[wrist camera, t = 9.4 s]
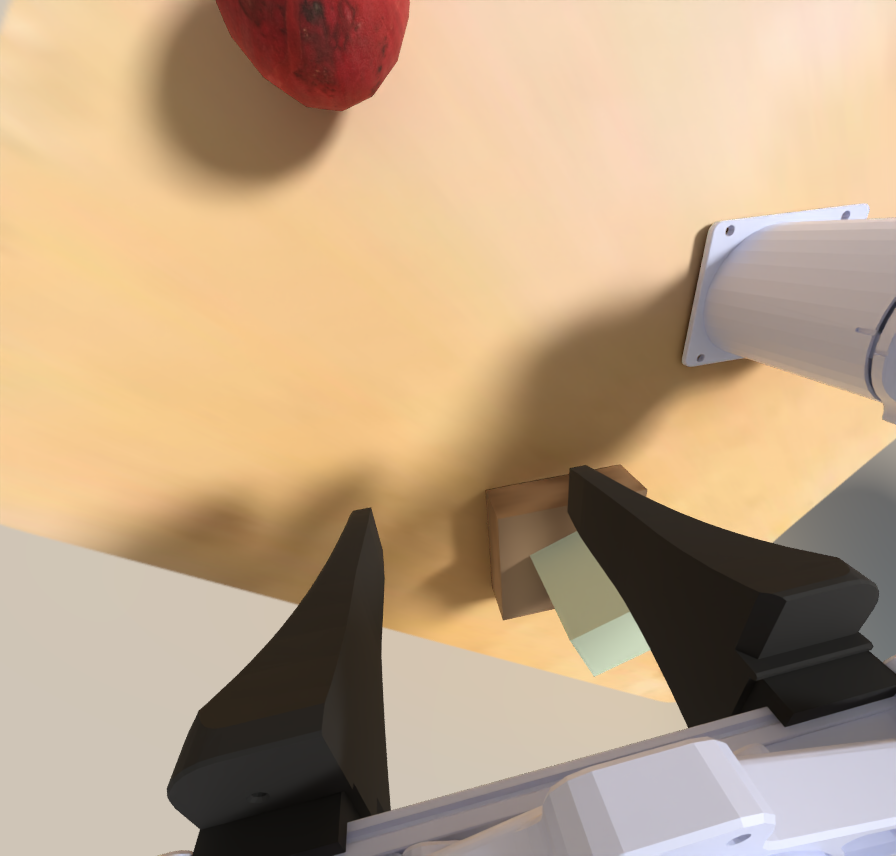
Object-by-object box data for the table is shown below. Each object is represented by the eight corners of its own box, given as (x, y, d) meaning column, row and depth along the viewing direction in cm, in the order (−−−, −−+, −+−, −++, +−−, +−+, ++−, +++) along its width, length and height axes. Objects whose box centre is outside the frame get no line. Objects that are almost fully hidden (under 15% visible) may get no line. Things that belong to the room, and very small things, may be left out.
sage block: (589, 524, 24) (647, 602, 19) (607, 563, 27) (664, 643, 21) (529, 555, 25) (570, 640, 20) (552, 591, 27) (594, 676, 22)
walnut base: (620, 464, 26) (647, 489, 24) (606, 562, 31) (627, 592, 29) (485, 490, 25) (497, 519, 23) (492, 587, 30) (503, 620, 28)
